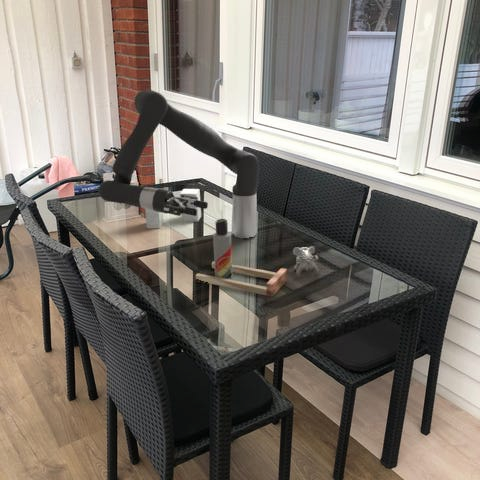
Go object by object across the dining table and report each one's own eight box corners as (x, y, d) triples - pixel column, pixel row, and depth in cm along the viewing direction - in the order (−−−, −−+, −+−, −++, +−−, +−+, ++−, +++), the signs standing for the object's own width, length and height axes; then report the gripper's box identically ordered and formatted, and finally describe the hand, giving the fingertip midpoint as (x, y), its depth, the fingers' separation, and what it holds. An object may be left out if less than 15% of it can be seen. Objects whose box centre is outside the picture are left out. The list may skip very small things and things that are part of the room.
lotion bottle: (230, 281, 164) (228, 223, 156) (213, 280, 165) (210, 222, 157) (233, 273, 169) (232, 217, 161) (217, 272, 170) (214, 216, 162)
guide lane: (214, 266, 175) (213, 255, 173) (287, 280, 163) (287, 269, 162) (196, 280, 165) (195, 269, 163) (272, 296, 153) (272, 284, 152)
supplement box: (185, 215, 225) (183, 188, 220) (201, 216, 224) (200, 188, 219) (181, 221, 218) (179, 193, 213) (198, 222, 217) (196, 193, 212)
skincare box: (150, 222, 218) (146, 188, 213) (164, 221, 218) (161, 188, 213) (146, 229, 210) (143, 194, 205) (161, 228, 210) (157, 194, 205)
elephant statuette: (300, 280, 164) (301, 258, 161) (282, 264, 174) (283, 244, 171) (324, 274, 168) (326, 253, 165) (305, 259, 178) (306, 239, 174)
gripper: (146, 194, 159) (193, 203, 154) (167, 184, 172) (211, 192, 167) (145, 216, 162) (192, 226, 157) (166, 205, 174) (209, 214, 170)
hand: (202, 208), depth 162 cm, fingers open, 8 cm apart
